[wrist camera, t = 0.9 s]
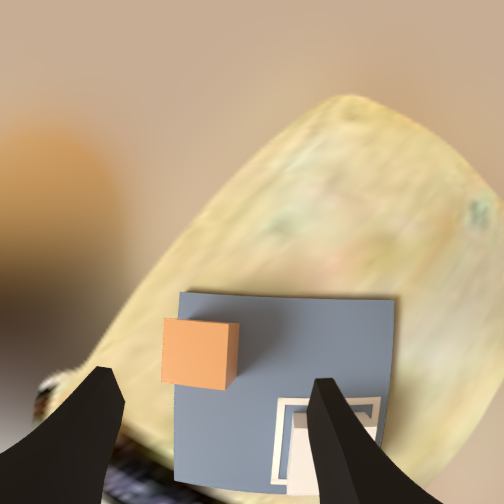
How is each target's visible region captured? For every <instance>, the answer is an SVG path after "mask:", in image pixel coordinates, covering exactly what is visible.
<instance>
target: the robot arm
mask: <svg viewBox="0 0 504 504" xmlns="http://www.w3.org/2000/svg"><path fill="white" fill-rule="evenodd" d="M124 405H125V400H124V398H123V396H122V393H121V391H120V389H119V386H118V384H117V381H116V379H115V376H114V374H113V371H112V369H111V368H106V367H99V366H97V367H96V368H95V369H94V370H93V371H92V372H91V373H90V374H89V375H88V376H87V377H86V378H85V379H84V380H83V382H82V383H81V384H80V385H79V386H78V387H77V388H76V389H75V390H74V391H73V393H72V394H71V395H70V396H69V397H68V398H67V399H66V400H65V401H64V402H63V403H62V404H61V405H60V406H59V407H58V408H57V409H56V410H55V411H54V412H53V413H52V414H51V415H50V416H49V417H48V418H47V419H46V420H45V421H44V422H43V423H42V424H40V425H39V426H38V427H37V428H36V429H35V430H33V431H32V432H31V433H30V434H28V435H27V436H26V437H25V438H23V439H22V440H21V441H19V442H18V443H16V444H15V445H13V446H12V447H10V448H9V449H7V450H6V451H4V452H3V453H1V454H0V504H101V499H102V492H103V485H104V479H105V475H106V471H107V467H108V464H109V461H110V458H111V454H112V451H113V448H114V445H115V442H116V439H117V435H118V432H119V429H120V426H121V421H122V416H123V411H124ZM306 415H307V428H308V438H309V443H310V448H311V453H312V458H313V463H314V468H315V473H316V478H317V483H318V489H319V496H320V504H443V503H441V502H440V501H438V500H437V499H435V498H434V497H433V496H431V495H430V494H428V493H427V492H426V491H424V490H423V489H422V488H421V487H420V486H418V485H417V484H416V483H415V482H414V481H412V480H411V479H410V478H409V477H408V476H407V475H405V474H404V473H403V472H402V471H401V470H400V469H399V468H398V467H397V466H396V465H395V464H394V463H393V462H392V461H391V459H390V458H389V457H388V456H387V455H386V454H385V453H384V452H383V451H382V449H381V448H380V447H379V446H378V445H377V443H376V442H375V441H374V440H373V438H372V437H371V436H370V434H369V433H368V432H367V430H366V429H365V428H364V426H363V425H362V423H361V422H360V420H359V419H358V418H357V416H356V415H355V413H354V412H353V410H352V409H351V407H350V405H349V404H348V402H347V401H346V399H345V397H344V396H343V394H342V392H341V391H340V389H339V387H338V385H337V384H336V382H335V380H334V379H333V378H315V380H314V384H313V388H312V392H311V396H310V399H309V403H308V407H307V410H306Z"/></svg>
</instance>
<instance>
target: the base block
mask: <svg viewBox="0 0 504 504" xmlns="http://www.w3.org/2000/svg"><path fill="white" fill-rule="evenodd" d="M354 413H355V415H356V416H357V418H358V419H359V420H360V422H361V423H362V425H363V426H364V428H365V429H366V430H367V432H368V433H369V434H370V436H371V437H372V438H373V440H374V441H375V437H376V431H377V426H376V424H375V423H374V422H373V421H372V420H371V419H370V418H369V416H368V415H367V414H366V413H365V412H354ZM287 495H319V489H318V483H317V478H316V473H315V468H314V463H313V458H312V453H311V448H310V443H309V438H308V428H307V415H306V413H295V412H293V418H292V428H291V439H290V449H289V458H288V467H287Z"/></svg>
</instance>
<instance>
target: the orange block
mask: <svg viewBox="0 0 504 504" xmlns="http://www.w3.org/2000/svg"><path fill="white" fill-rule="evenodd" d="M239 327H240V323H227V322H214V321H202V320H191V319H168V318H164V331H163V349H162V374H161V382H166V383H172V384H178V385H185V386H192V387H199V388H207V389H215V390H224V391H225V390H226V389H227V388H228V387H229V386H230V384H231V383H232V382H233V381H234V380H235V379H236V378H237V361H238V344H239Z"/></svg>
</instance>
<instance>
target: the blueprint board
mask: <svg viewBox="0 0 504 504" xmlns="http://www.w3.org/2000/svg"><path fill="white" fill-rule="evenodd" d="M178 319H191V320H202V321H214V322H227V323H240V327H239V344H238V361H237V378H236V379H235V380H234V381H233V382H232V383H231V384H230V386H229V387H228V388H227V389H226V390H225V391H224V390H215V389H207V388H199V387H192V386H185V385H178V384H175V392H174V479H175V481H180V482H185V483H190V484H195V485H201V486H206V487H213V488H219V489H227V490H235V491H244V492H254V493H268V494H287V467H288V458H289V449H290V439H291V428H292V418H293V412H295V413H306V410H307V407H308V403H309V399H310V396H311V392H312V388H313V384H314V380H315V378H333V379H334V380H335V382H336V384H337V385H338V387H339V389H340V391H341V392H342V394H343V396H344V397H345V399H346V401H347V402H348V404H349V405H350V407H351V409H352V410H353V412H365V413H366V414H367V415H368V416H369V418H370V419H371V420H372V421H373V422H374V423H375V424H376V426H377V431H376V437H375V442H376V443H377V445H378V446H379V447H380V448H381V443H382V437H383V431H384V425H385V418H386V411H387V403H388V395H389V386H390V376H391V364H392V350H393V332H394V300H347V299H307V298H279V297H256V296H237V295H220V294H204V293H189V292H180V297H179V311H178Z"/></svg>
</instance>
